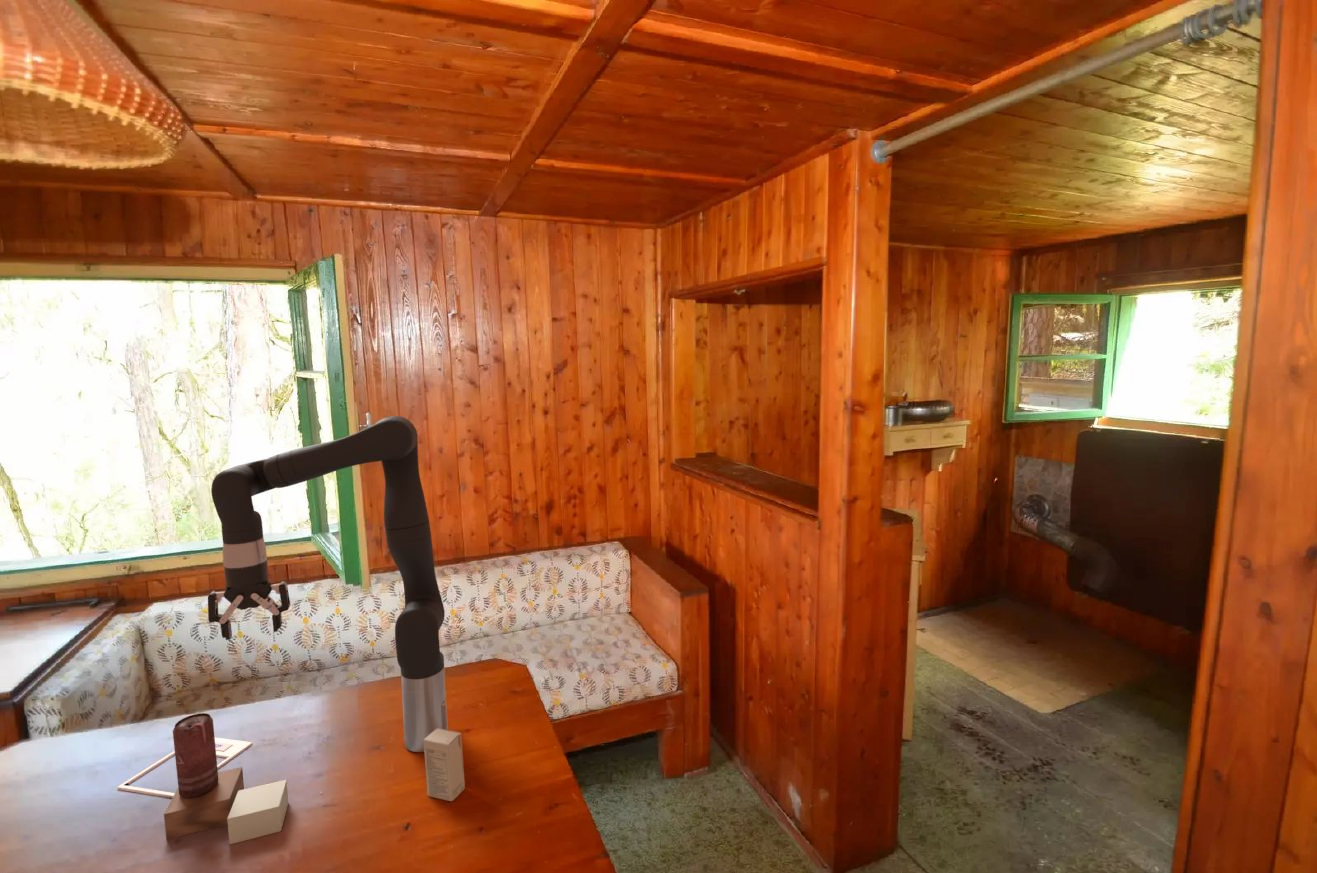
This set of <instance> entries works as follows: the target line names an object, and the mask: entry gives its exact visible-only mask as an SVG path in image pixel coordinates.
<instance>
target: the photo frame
mask: <svg viewBox="0 0 1317 873" xmlns="http://www.w3.org/2000/svg"><path fill="white" fill-rule="evenodd" d="M214 737H215V748H216V758H224V760H222V761H221V762H220V763H219V764H218V763H217V769H218V770H219V769H220V768H222V767H223V766H224V765H227V763H229V762H230V761H231V760H232V759H234V758H236V757H237V756H238V755H240V754H241V753H242V752H244V751H245V750H246V749H248V748H249V747H251V746H252V745H253V741H246V740H245V741H244V740H238V739H237V740H236V739H229V738H222V737H216V736H214ZM172 757H175V750H173V751H171V752H170V753H169V754H167V755H166V756H163V758H161V759H159V760H158V761H156V762H154V763H153V764H152V765H151V764H150V766H148V767H147V768H144V769H143V770H142V771H140V772H139V773H137V774H136V775H134V776H133V777H131V778H129V779H128V780H126V781H125V782H123V783H121V784H120V785H117V790H119V791H126V792H133V793H138V794H143V795H144V794H145V795H151V796H157V797H163V798H170V799H172V798H173V796H174V794H175V793H176V792H169V791H163V790H157V789H156V790H155V789H151V788H144V787H137V786H133V785H132V786H131V783H134V782H135V781H136V780H138V779H139V778H141V777H142V776H144V775H146V774H147V773H148V772H150V771H152V770H154V769H155V768H156V767H158V766H160V765H161V764H163V763H165V762H166V761H167V760H169V759H170V758H172ZM127 784H128V785H127Z"/></svg>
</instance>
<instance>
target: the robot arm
mask: <svg viewBox="0 0 1317 873" xmlns="http://www.w3.org/2000/svg"><path fill="white" fill-rule="evenodd" d="M418 437H419V436H418V431H417V428H416V427H415V426H414V424H413V423H412V422H411V421H410V420H409V419H407V418H406V417H403V416H400V415H392V416H388V417H384V418H381V419H380V420H378V421H376V422H375V423H374V424H372V425H370V426H368V427H365V428H363V429H361V430H359V431H357V432H355V433H352V434H350V435H348V436H345V437H341V438H338V439H335V440H331V441H326V442H321V443H317V444H311V445H307V446H304V447H300V448H296V449H292V450H289V451H285V452H282V453H279V454H275V455H273V456H270V457H268V458H265V459H258V460H254V461H251V462H247V463H243V464H240V465H236V466H233V467H230V468H227V469H224V470H222V471H220V472H219V473H217V474H216V476H215V477H214V478H213V480H212V482H211V488H210V489H211V490H210V491H211V499H212V502H213V505H214V508H215V511H216V514H217V517H218V518H219V520H220V523H221V535H222V536H221V537H222V565H223V570H224V571H223V572H224V579H225V580H224V581H225V591H217V590H211V592H210V593H209V594H208V596H207V614H208V616H207V617H208V619H207V620H208V622H209V623H219V625H220V632H221V637H222V638H223V639H225V641H229V640H231V639H232V637H233V633H232V631H233V630H232V622H231V619H230V617H231V616H232V615H233V613H234V612H235V610H236V609H238V610H240V611H242V610H243V611H244V610H246V609H249V608H250V609H252V608H253V609H256V608H259V607H260V606H261V607H262V608H264V610H268V612H270V613H271V614H272V617H271V619H272V628H273V633H276V632H279V630H280V629H281V628H282V624H283V619H282V613H283V612H285V611H286V612H287V611H288V610H289V609H290V607H291V599H290V593H289V588H288V583H287V581H286V580H282V581H280V582H279V583H274V584H272V583H271V582H270V579H269V566H268V555H267V548H266V547H267V546H266V542H265V539H264V528H263V520H262V516H261V513H260V512H258V511H256V510H255V508H254V503H253V499H252V497H254V496H256V495H259V494H263V493H265V492H268V491H271V490H273V489H282V488H287V487H291V486H294V485H297V484H300V483H301V484H302V483H304V482H307V481H311V480H314V479H316V478H320V477H322V476H325V475H329V474H331V473H334V472H337V471H339V470H343V469H346V468H349V467H350V468H351V467H354V466H359V465H363V464H369V463H376V462H381V466H382V468H383V469H382V470H383V473H384V474H383V475H384V487H385V488H384V499H383V501H384V504H383V521H384V530H385V532H384V533H385V537H386V542H387V548H388V550H389V553H390V556H391V558H392V560H393V562H394V564H395V566H396V567H397V569H398V571H399V573H400V575H401V579H402V582H403V583H402V584H403V591H404V592H403V593H404V608H403V610H402V612H401V613H399V615H398V617H397V619H396V621H395V624H394V625H395V626H394V638H395V648H396V649H395V651H396V659H397V664H398V667H400V677H401V680H400V681H401V698H402V700H401V701H402V715H403V719H402V720H403V734H404V736H403V738H404V747H405V748H406V750H408V751H411V752H414V753H415V752H416V753H423V752H424V742H423V739H424V738H426V737H427V736H428V735H429V734H431V733H432V732H433V731H434V730H436V729H437V728H439V729H445V730H449V728H448V726H449V725H448V711H447V710H448V708H447V704H448V703H447V699H446V698H447V697H446V679H445V678H446V677H445V676H446V675H445V658H444V653H443V652H441V650H440V648H441V647H440V636H439V634H440V629H441V628H442V626H443V624H444V621H445V616H446V615H445V606H444V604H443V603H444V602H443V599H442V595H441V592H440V589H439V588H440V587H439V585H438V581H437V580H438V579H437V576H436V568H435V556H434V550H433V541H432V540H433V539H432V532H431V525H430V524H431V523H430V519H429V513H428V512H429V511H428V507H427V503H426V498H425V497H426V496H425V493H424V489H423V486H422V481H421V477H420V469H419V447H418V446H419V444H418V443H419V441H418V439H419V438H418ZM272 591H275V593H276V594H277V595H279V598H280V603H281V604H280V605H279V604H278V603H276V601H275V600H274V598H272V597H271V596H270V594H271V592H272ZM222 598H224V599H225V600H226V601H228V602H229V603H230V605H229V606H228V607H227V609H226V610H225V611H224V613H223V614H222V613H219V603H220V602H221V600H222Z"/></svg>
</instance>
